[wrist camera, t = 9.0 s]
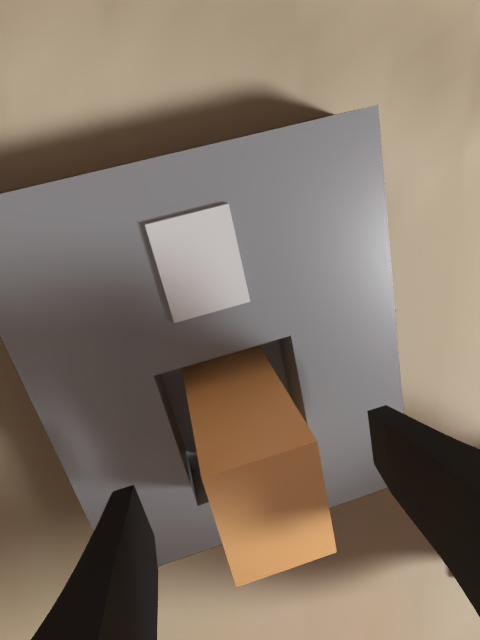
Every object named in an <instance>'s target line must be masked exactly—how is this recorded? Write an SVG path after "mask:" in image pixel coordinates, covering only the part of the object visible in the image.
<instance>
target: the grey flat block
mask: <svg viewBox="0 0 480 640" xmlns="http://www.w3.org/2000/svg"><path fill="white" fill-rule="evenodd" d="M0 337H1V339H2V341H3V343H4V345H5V347H6V349H7V351H8V354H9V356H10V358H11V360H12V362H13V364H14V366H15V368H16V370H17V372H18V375H19V377H20V379H21V381H22V383H23V385H24V387H25V389H26V391H27V393H28V395H29V398H30V400H31V402H32V404H33V406H34V408H35V410H36V412H37V414H38V416H39V418H40V421H41V423H42V425H43V427H44V429H45V431H46V433H47V435H48V437H49V439H50V441H51V444H52V446H53V448H54V450H55V452H56V454H57V456H58V458H59V460H60V462H61V465H62V467H63V469H64V471H65V473H66V475H67V477H68V479H69V481H70V483H71V485H72V488H73V490H74V492H75V494H76V496H77V498H78V500H79V502H80V504H81V506H82V508H83V511H84V513H85V515H86V517H87V519H88V521H89V523H90V525H91V527H92V529H93V531H94V530H95V528H96V526H97V524H98V522H99V520H100V517H101V515H102V513H103V511H104V509H105V506H106V504H107V502H108V500H109V497H110V495H111V494H112V492H113V491H116V490H119V489H122V488H125V487H128V486H131V485H134V486H135V489H136V491H137V494H138V496H139V498H140V501H141V503H142V506H143V508H144V511H145V513H146V516H147V518H148V521H149V523H150V526H151V528H152V531H153V533H154V536H155V545H156V554H157V565H158V566H161V565H164V564H167V563H170V562H173V561H175V560H178V559H181V558H184V557H187V556H190V555H193V554H196V553H199V552H202V551H205V550H208V549H211V548H214V547H216V546H219V545H222V541H221V538H220V535H219V532H218V529H217V525H216V522H215V519H214V516H213V513H212V510H211V507H210V503H209V500H208V497H207V494H206V491H205V488H204V485H203V482H202V478H201V473H200V467H199V462H198V456H197V451H196V445H195V439H194V434H193V428H192V423H191V417H190V412H189V406H188V400H187V395H186V389H185V384H184V378H183V372H182V368H184V367H187V366H191V365H194V364H198V363H201V362H205V361H208V360H212V359H215V358H218V357H222V356H225V355H229V354H232V353H236V352H239V351H243V350H246V349H250V348H253V347H256V346H260V348H261V350H262V351H263V353H264V355H265V356H266V358H267V360H268V361H269V363H270V364H271V366H272V368H273V369H274V371H275V373H276V374H277V376H278V378H279V379H280V381H281V382H282V384H283V386H284V387H285V389H286V391H287V392H288V394H289V396H290V397H291V399H292V400H293V402H294V404H295V405H296V407H297V409H298V410H299V412H300V414H301V415H302V417H303V419H304V420H305V422H306V423H307V425H308V427H309V428H310V430H311V432H312V433H313V435H314V437H315V438H316V440H317V442H318V448H319V454H320V459H321V465H322V470H323V476H324V482H325V487H326V493H327V499H328V504H329V508H331V507H334V506H337V505H339V504H342V503H345V502H348V501H351V500H354V499H357V498H360V497H363V496H366V495H369V494H372V493H375V492H378V491H380V490H383V489H386V488H388V487H387V485H386V484H385V482H384V480H383V479H382V477H381V475H380V473H379V472H378V470H377V468H376V467H375V465H374V462H373V453H372V445H371V437H370V429H369V421H368V413H367V411H369V410H372V409H375V408H378V407H381V406H385V405H387V406H389V407H391V408H393V409H395V410H397V411H399V412H401V413H403V402H402V390H401V378H400V365H399V353H398V341H397V329H396V317H395V305H394V293H393V280H392V268H391V256H390V244H389V232H388V220H387V207H386V195H385V183H384V171H383V159H382V147H381V135H380V122H379V110H378V105H376V106H371V107H367V108H362V109H358V110H353V111H349V112H344V113H340V114H335V115H331V116H327V117H323V118H318V119H314V120H310V121H306V122H301V123H297V124H293V125H289V126H284V127H280V128H276V129H272V130H267V131H263V132H259V133H255V134H250V135H246V136H242V137H238V138H233V139H229V140H225V141H221V142H216V143H212V144H208V145H204V146H200V147H195V148H191V149H187V150H183V151H178V152H174V153H170V154H166V155H161V156H157V157H153V158H149V159H144V160H140V161H136V162H132V163H127V164H123V165H119V166H115V167H110V168H106V169H102V170H98V171H93V172H89V173H85V174H81V175H76V176H72V177H68V178H64V179H60V180H55V181H51V182H47V183H43V184H38V185H34V186H30V187H26V188H21V189H17V190H13V191H9V192H4V193H0Z"/></svg>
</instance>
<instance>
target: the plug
mask: <svg viewBox="0 0 480 640" xmlns="http://www.w3.org/2000/svg"><path fill="white" fill-rule="evenodd" d="M182 372H183V378H184V384H185V389H186V395H187V400H188V406H189V412H190V417H191V423H192V428H193V434H194V439H195V445H196V451H197V456H198V462H199V467H200V473H201V478H202V482H203V485H204V488H205V491H206V494H207V497H208V500H209V503H210V507H211V510H212V513H213V516H214V519H215V522H216V525H217V529H218V532H219V535H220V538H221V541H222V544H223V547H224V550H225V554H226V557H227V560H228V563H229V566H230V569H231V572H232V576H233V579H234V582H235V585H236V588H237V587H240V586H242V585H245V584H248V583H251V582H254V581H257V580H259V579H262V578H265V577H268V576H271V575H274V574H277V573H279V572H282V571H285V570H288V569H291V568H294V567H296V566H299V565H302V564H305V563H308V562H311V561H313V560H316V559H319V558H322V557H325V556H328V555H331V554H333V553H336V552H337V549H336V544H335V538H334V533H333V527H332V521H331V516H330V510H329V504H328V499H327V493H326V487H325V482H324V476H323V470H322V465H321V459H320V454H319V448H318V442H317V440H316V438H315V437H314V435H313V433H312V432H311V430H310V428H309V427H308V425H307V423H306V422H305V420H304V419H303V417H302V415H301V414H300V412H299V410H298V409H297V407H296V405H295V404H294V402H293V400H292V399H291V397H290V396H289V394H288V392H287V391H286V389H285V387H284V386H283V384H282V382H281V381H280V379H279V378H278V376H277V374H276V373H275V371H274V369H273V368H272V366H271V364H270V363H269V361H268V360H267V358H266V356H265V355H264V353H263V351H262V350H261V348H260V346H256V347H253V348H250V349H246V350H243V351H239V352H236V353H232V354H229V355H225V356H222V357H218V358H215V359H212V360H208V361H205V362H201V363H198V364H194V365H191V366H187V367H184V368H182Z"/></svg>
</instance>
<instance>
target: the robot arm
mask: <svg viewBox="0 0 480 640" xmlns="http://www.w3.org/2000/svg"><path fill="white" fill-rule="evenodd" d="M367 413H368V421H369V429H370V437H371V445H372V453H373V462H374V465H375V467H376V468H377V470H378V472H379V473H380V475H381V477H382V479H383V480H384V482H385V484H386V485H387V487H388V489H389V490H390V492H391V493H392V495H393V496H394V497H395V499H396V500H397V501H398V503H399V504H400V505H401V507H402V508H403V509H404V510H405V512H406V513H407V514H408V516H409V517H410V518H411V520H412V521H413V522H414V523H415V525H416V526H417V527H418V529H419V530H420V531H421V532H422V534H423V535H424V536H425V538H426V539H427V540H428V541H429V543H430V544H431V545H432V547H433V548H434V549H435V550H436V552H437V553H438V554H439V556H440V557H441V558H442V560H443V561H444V562H445V564H446V565H447V567H448V568H449V569H450V571H451V572H452V574H453V575H454V577H455V579H456V580H457V582H458V583H459V585H460V586H461V588H462V590H463V591H464V593H465V594H466V596H467V597H468V599H469V601H470V602H471V604H472V605H473V607H474V608H475V610H476V612H477V613H478V615H479V617H480V449H477V448H475V447H472V446H470V445H468V444H465V443H463V442H461V441H458V440H456V439H454V438H452V437H449V436H447V435H445V434H443V433H441V432H439V431H437V430H435V429H433V428H431V427H429V426H426V425H424V424H422V423H421V422H419V421H417V420H415V419H413V418H411V417H409V416H407V415H405V414H403V413H401V412H399V411H397V410H395V409H393V408H391V407H389V406H387V405H385V406H381V407H378V408H375V409H372V410H369V411H367ZM157 611H158V565H157V554H156V545H155V536H154V533H153V531H152V528H151V526H150V523H149V521H148V518H147V516H146V513H145V511H144V508H143V506H142V503H141V501H140V498H139V496H138V494H137V491H136V489H135V486H134V485H131V486H128V487H125V488H122V489H119V490H116V491H113V492H112V494H111V495H110V497H109V500H108V502H107V504H106V506H105V509H104V511H103V513H102V515H101V517H100V520H99V522H98V524H97V526H96V528H95V530H94V532H93V534H92V536H91V538H90V540H89V542H88V544H87V546H86V548H85V550H84V552H83V554H82V556H81V558H80V560H79V562H78V564H77V566H76V568H75V569H74V571H73V573H72V575H71V576H70V578H69V580H68V582H67V584H66V585H65V587H64V589H63V591H62V592H61V594H60V596H59V597H58V599H57V601H56V602H55V604H54V606H53V607H52V609H51V610H50V612H49V614H48V615H47V617H46V618H45V620H44V621H43V623H42V624H41V626H40V627H39V629H38V630H37V632H36V633H35V635H34V636H33V637H32V639H31V640H157Z"/></svg>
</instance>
